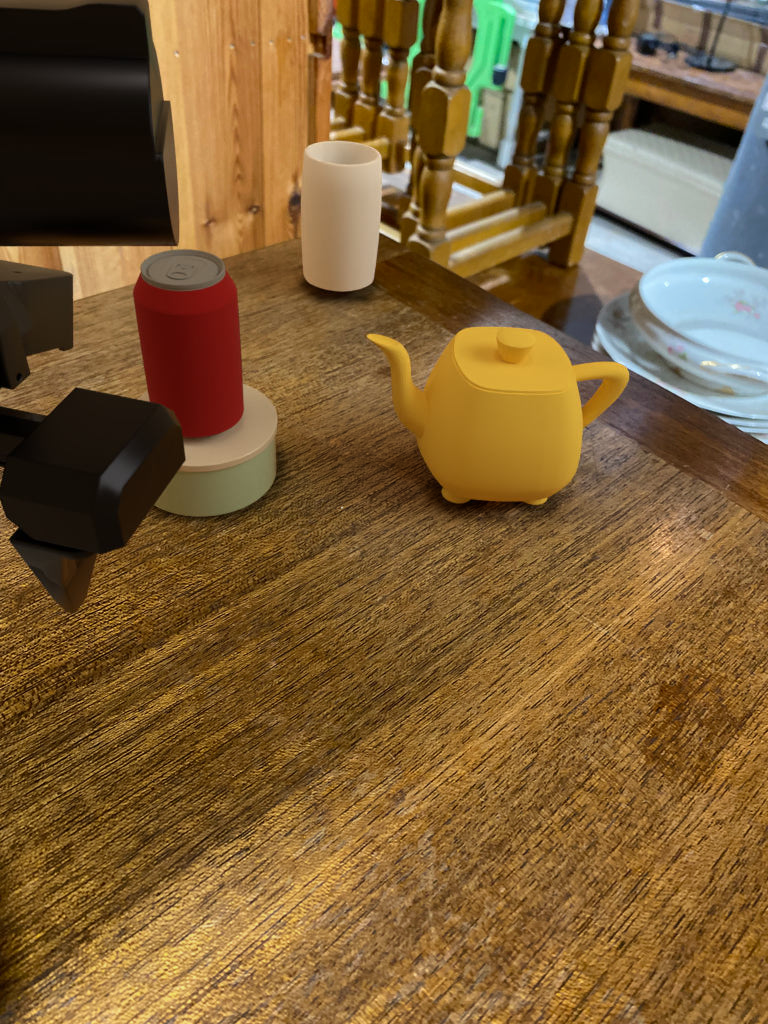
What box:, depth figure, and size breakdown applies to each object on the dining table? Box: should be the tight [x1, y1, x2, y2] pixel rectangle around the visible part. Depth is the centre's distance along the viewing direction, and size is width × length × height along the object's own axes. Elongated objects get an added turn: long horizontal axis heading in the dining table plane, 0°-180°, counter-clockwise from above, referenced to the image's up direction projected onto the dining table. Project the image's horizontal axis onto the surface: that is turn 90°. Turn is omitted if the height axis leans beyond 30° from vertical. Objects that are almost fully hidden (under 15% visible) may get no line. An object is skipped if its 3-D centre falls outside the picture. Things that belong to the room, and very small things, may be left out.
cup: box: [300, 140, 383, 292], centre depth 83 cm, size 8×8×14 cm
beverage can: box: [132, 248, 244, 438], centre depth 54 cm, size 7×7×12 cm
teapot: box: [366, 326, 630, 506], centre depth 60 cm, size 13×20×12 cm
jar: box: [136, 383, 279, 518], centre depth 60 cm, size 11×11×5 cm
